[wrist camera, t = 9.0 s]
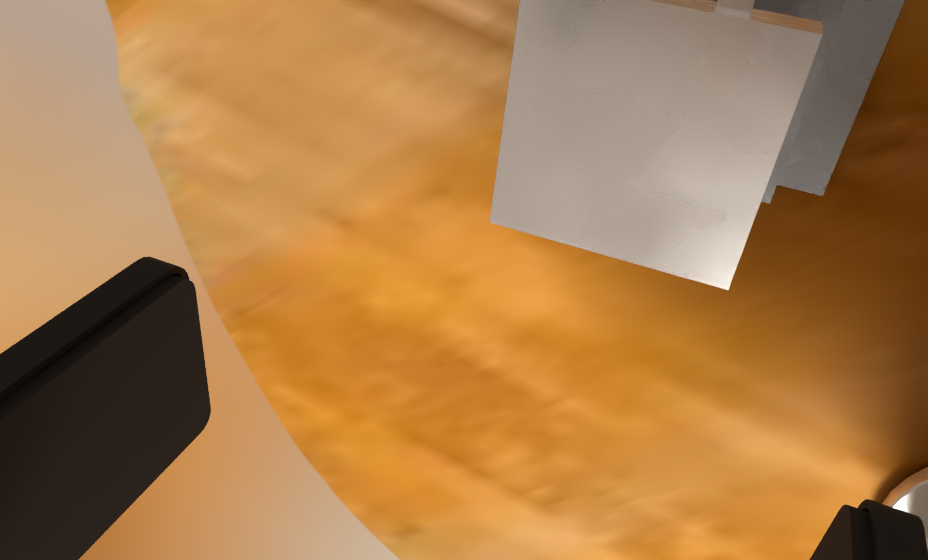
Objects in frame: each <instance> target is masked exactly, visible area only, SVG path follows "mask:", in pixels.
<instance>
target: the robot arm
mask: <svg viewBox="0 0 928 560" xmlns="http://www.w3.org/2000/svg"><path fill="white" fill-rule="evenodd" d="M210 409H211V407H210V399H209V392H208V384H207V376H206V368H205V360H204V352H203V345H202V337H201V329H200V322H199V314H198V306H197V298H196V290H195V286H194V284H193V283H192V281H190V280H189V277H188V274H187V272H186V271H185V270H184V269H183V268H181V267H178V266H176V265H173V264H170V263H167V262H164V261H161V260H158V259H155V258H152V257H143V258H141V259H139V260H137V261H136V262H134V263H133V264H131V265H130V266H128V267H127V268H125V269H124V270H122V271H121V272H120V273H118V274H117V275H115V276H114V277H112V278H111V279H109V280H108V281H106V282H105V283H103V284H102V285H101V286H99V287H98V288H96V289H95V290H93V291H92V292H90V293H89V294H87V295H86V296H85V297H83V298H82V299H80V300H79V301H78V302H76V303H74V304H73V305H71V306H70V307H68V308H67V309H66V310H64V311H63V312H61V313H60V314H58V315H57V316H55V317H54V318H53V319H51V320H49V321H48V322H46V323H45V324H44V325H42V326H41V327H39V328H38V329H36V330H35V331H33V332H32V333H30V334H29V335H28V336H26V337H25V338H23V339H22V340H20V341H19V342H18V343H16V344H14V345H13V346H11V347H10V348H9V349H7V350H6V351H4V352H3V353H1V354H0V560H78V559H79V558H80V557H81V556H82V555H83V554H84V553H85V552H86V551H87V550H88V549H89V548H90V547H91V546H92V545H93V544H94V543H95V542H96V541H97V540H98V539H99V538H100V537H101V536H102V535H103V533H104V532H105V531H106V530H107V529H108V528H109V527H110V526H111V525H112V524H113V523H114V522H115V521H116V520H117V519H118V518H119V517H120V516H121V515H122V514H123V513H124V512H125V511H126V510H127V509H128V508H129V507H130V505H131V504H132V503H133V502H134V501H135V500H136V499H137V498H138V497H139V496H140V495H141V494H142V493H143V492H144V491H145V490H146V489H147V488H148V487H149V486H150V485H151V484H152V483H153V482H154V481H155V480H156V479H157V477H158V476H159V475H160V474H161V473H162V472H163V471H164V470H165V469H166V468H167V467H168V466H169V465H170V464H171V463H172V462H173V461H174V460H175V459H176V458H177V457H178V456H179V455H180V454H181V453H182V451H184V449H185V448H186V447H187V446H188V445H189V444H190V443H191V442H192V441H193V440H194V439H195V438H196V437H197V436H198V435H199V434H200V433H201V432H202V430H203V429H204V428H205V426H206V424H207V422H208V420H209V416H210V412H211V410H210ZM810 560H928V467H926V468H924V469H922V470H920V471H919V472H917V473H915V474H913V475H911V476H909V477H908V478H906V479H905V480H904V481H903V482H901V483H900V484H899V485H898V486H897V487H895V488H894V489H893V490H892V491H891V492H890V493H889V495H888V496H887V497H886V499H885V500H884V501H883V503H882V504H881V503H878V502H875V501H872V500H868V499H866V500H864V501H863V502H862V503H861V504H860V505H859V507H858V508H855V507H852V506H849V505H844V506H842V507H841V509H840V510H839V512H838V513H837V515H836V517H835V518H834V520H833V522H832V523H831V525H830V527H829V528H828V530H827V532H826V533H825V535H824V537H823V538H822V540H821V542H820V543H819V545H818V547H817V548H816V550H815V552H814V553H813V555H812V557H811V558H810Z"/></svg>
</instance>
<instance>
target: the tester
mask: <svg viewBox="0 0 928 560" xmlns="http://www.w3.org/2000/svg"><path fill="white" fill-rule="evenodd" d="M711 1H718V0H711ZM904 2H905V0H755V2H754V5H753V9H758V10H764V11H769V12H774V13H779V14H785V15H790V16H795V17H800V18H806V19H811V20H816V21H821V22H822V26H823V35H822V38H821V41H820V43H819V46H818V49H817V52H816V54H815V57H814V60H813V62H812V65H811V68H810V70H809V73H808V76H807V79H806V81H805V84H804V87H803V89H802V92H801V95H800V97H799V100H798V103H797V106H796V108H795V111H794V114H793V116H792V119H791V122H790V125H789V127H788V130H787V133H786V135H785V138H784V141H783V143H782V146H781V149H780V152H779V154H778V157H777V160H776V162H775V165H774V168H773V170H772V173H771V176H770V179H769V181H768V184H767V187H766V189H765V192H764V195H763V198H762V200H761V202H765V203H768V204H770V202H771V199H772V197H773V194H774V192H775V189H776V186H777V185H780V186H784V187H788V188H792V189H796V190H800V191H804V192H808V193H812V194H816V195H820V196H823V194H824V192H825V189H826V187H827V184H828V182H829V180H830V177H831V175H832V173H833V170H834V168H835V165H836V163H837V161H838V158H839V156H840V154H841V151H842V149H843V146H844V144H845V142H846V139H847V137H848V135H849V132H850V130H851V128H852V125H853V123H854V120H855V118H856V116H857V113H858V111H859V109H860V106H861V104H862V101H863V99H864V97H865V94H866V92H867V90H868V87H869V85H870V82H871V80H872V78H873V75H874V73H875V71H876V68H877V66H878V63H879V61H880V59H881V56H882V54H883V52H884V49H885V47H886V44H887V42H888V40H889V37H890V35H891V33H892V30H893V28H894V25H895V23H896V21H897V18H898V16H899V14H900V11H901V9H902V6H903V4H904Z"/></svg>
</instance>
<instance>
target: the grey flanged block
mask: <svg viewBox="0 0 928 560" xmlns="http://www.w3.org/2000/svg"><path fill="white" fill-rule="evenodd" d="M754 2H755V0H718V1H711V0H520V5H519V12H518V20H517V27H516V34H515V41H514V49H513V56H512V63H511V70H510V78H509V85H508V92H507V99H506V107H505V114H504V121H503V129H502V136H501V143H500V150H499V158H498V165H497V172H496V179H495V187H494V194H493V201H492V209H491V216H490V223H494V224H497V225H501V226H504V227H508V228H511V229H515V230H518V231H522V232H525V233H529V234H532V235H536V236H539V237H543V238H546V239H550V240H553V241H557V242H560V243H564V244H567V245H571V246H574V247H578V248H581V249H585V250H588V251H592V252H596V253H599V254H603V255H606V256H610V257H613V258H617V259H620V260H624V261H627V262H631V263H634V264H638V265H641V266H645V267H648V268H652V269H655V270H659V271H662V272H666V273H669V274H673V275H676V276H680V277H683V278H687V279H691V280H694V281H698V282H701V283H705V284H708V285H712V286H715V287H719V288H722V289H726V290H728V289H729V287H730V284H731V281H732V279H733V276H734V273H735V270H736V268H737V265H738V262H739V260H740V257H741V254H742V252H743V249H744V246H745V243H746V241H747V238H748V235H749V233H750V230H751V227H752V225H753V222H754V219H755V216H756V214H757V211H758V208H759V206H760V203H761V200H762V198H763V195H764V192H765V189H766V187H767V184H768V181H769V179H770V176H771V173H772V170H773V168H774V165H775V162H776V160H777V157H778V154H779V152H780V149H781V146H782V143H783V141H784V138H785V135H786V133H787V130H788V127H789V125H790V122H791V119H792V116H793V114H794V111H795V108H796V106H797V103H798V100H799V97H800V95H801V92H802V89H803V87H804V84H805V81H806V79H807V76H808V73H809V70H810V68H811V65H812V62H813V60H814V57H815V54H816V52H817V49H818V46H819V43H820V41H821V38H822V35H823V26H822V22H821V21H816V20H811V19H806V18H800V17H795V16H790V15H785V14H779V13H774V12H769V11H764V10H758V9H753V5H754Z"/></svg>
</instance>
